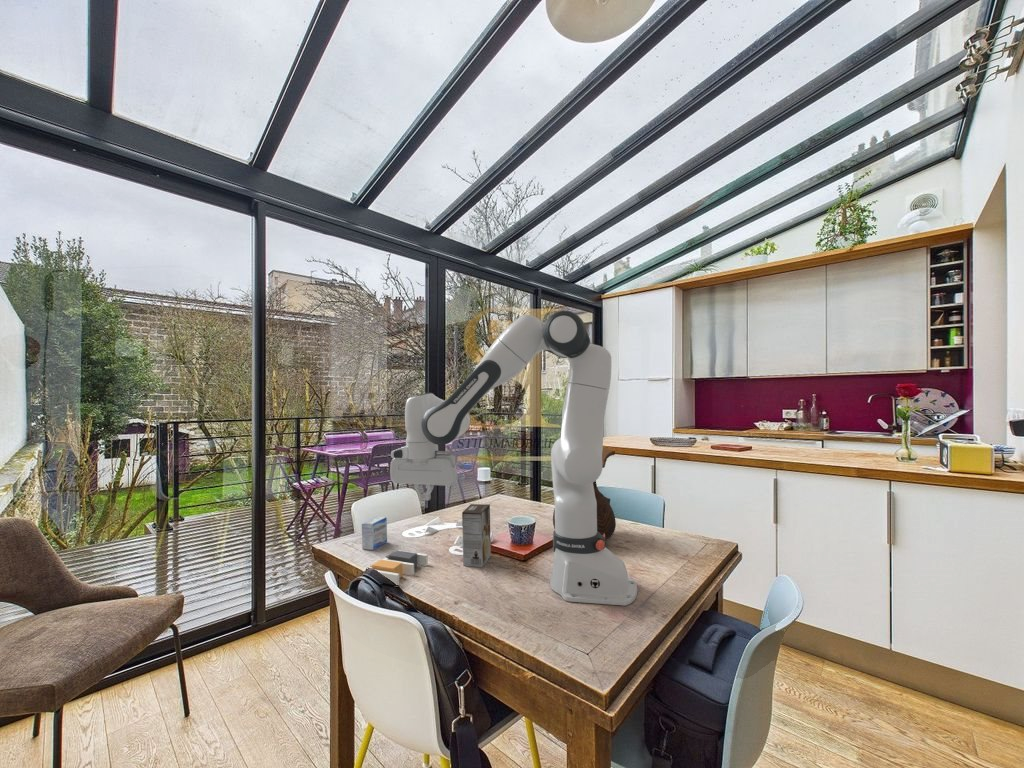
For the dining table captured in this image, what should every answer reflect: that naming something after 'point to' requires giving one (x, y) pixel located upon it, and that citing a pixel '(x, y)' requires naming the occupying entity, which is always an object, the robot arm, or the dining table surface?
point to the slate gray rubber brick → (404, 557)
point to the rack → (404, 567)
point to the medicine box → (374, 533)
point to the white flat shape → (434, 527)
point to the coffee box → (476, 535)
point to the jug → (602, 506)
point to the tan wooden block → (388, 566)
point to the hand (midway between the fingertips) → (424, 499)
